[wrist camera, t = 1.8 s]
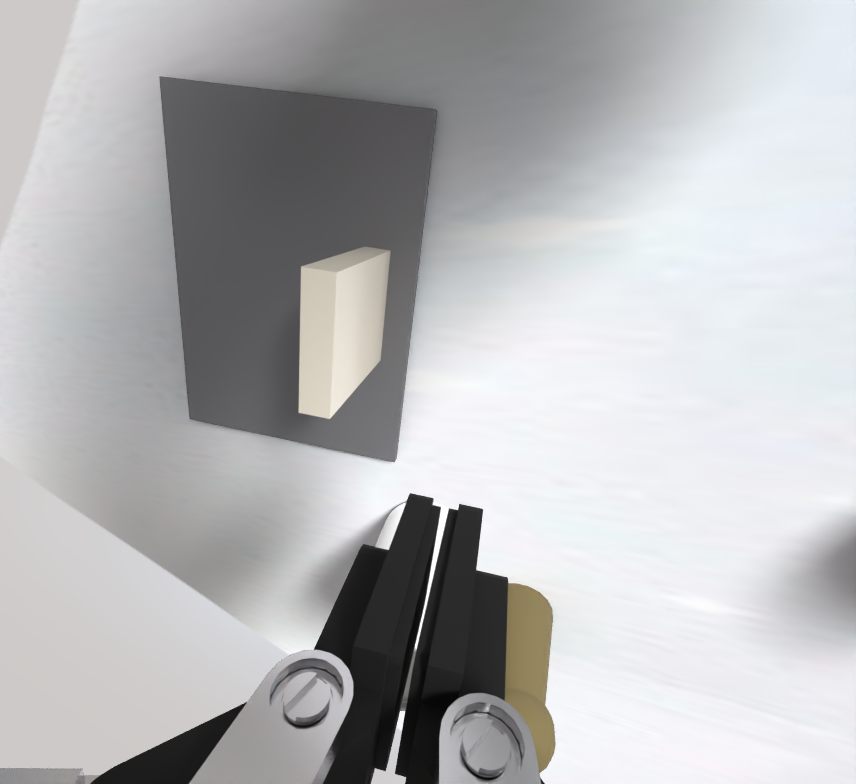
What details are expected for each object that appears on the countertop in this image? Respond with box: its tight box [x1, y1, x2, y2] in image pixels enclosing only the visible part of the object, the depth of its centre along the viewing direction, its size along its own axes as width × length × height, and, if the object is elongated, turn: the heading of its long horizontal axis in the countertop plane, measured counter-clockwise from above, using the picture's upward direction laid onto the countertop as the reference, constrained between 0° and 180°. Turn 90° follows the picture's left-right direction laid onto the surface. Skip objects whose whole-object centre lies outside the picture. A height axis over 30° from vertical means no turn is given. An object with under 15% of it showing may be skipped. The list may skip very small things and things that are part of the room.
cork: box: [505, 584, 555, 773], centre depth 33 cm, size 6×6×11 cm
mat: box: [160, 77, 437, 462], centre depth 30 cm, size 22×16×1 cm
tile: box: [299, 247, 391, 419], centre depth 25 cm, size 7×2×9 cm, turn 173°
